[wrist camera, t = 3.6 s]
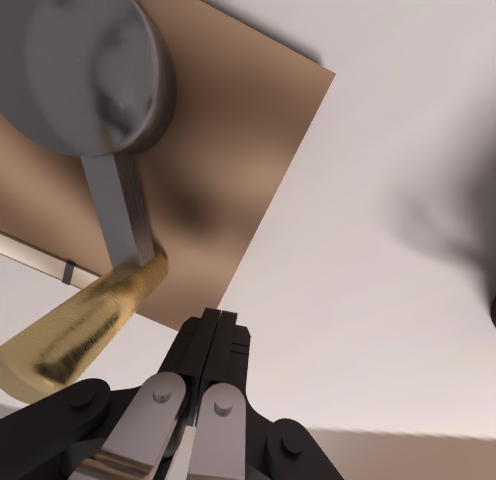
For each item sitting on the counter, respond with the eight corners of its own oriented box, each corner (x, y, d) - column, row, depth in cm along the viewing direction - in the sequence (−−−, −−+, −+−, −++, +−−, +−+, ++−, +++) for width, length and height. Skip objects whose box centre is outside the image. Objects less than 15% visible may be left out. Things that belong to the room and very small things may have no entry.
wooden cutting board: (-39, -114, 11) (-93, -163, 10) (327, 84, 13) (337, 71, 11) (-47, 216, 17) (-82, 222, 15) (205, 327, 18) (199, 344, 17)
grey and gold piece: (18, 6, 11) (-557, -355, 3) (161, -19, 10) (-151, -552, 3) (104, 284, 16) (-54, 403, 8) (207, 280, 15) (143, 407, 7)
